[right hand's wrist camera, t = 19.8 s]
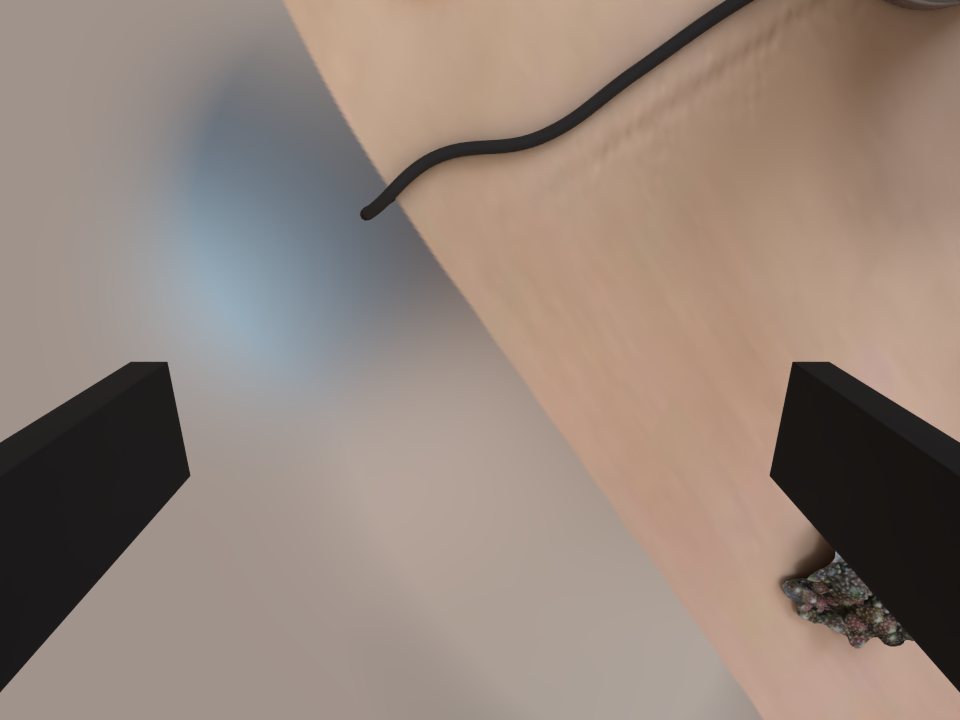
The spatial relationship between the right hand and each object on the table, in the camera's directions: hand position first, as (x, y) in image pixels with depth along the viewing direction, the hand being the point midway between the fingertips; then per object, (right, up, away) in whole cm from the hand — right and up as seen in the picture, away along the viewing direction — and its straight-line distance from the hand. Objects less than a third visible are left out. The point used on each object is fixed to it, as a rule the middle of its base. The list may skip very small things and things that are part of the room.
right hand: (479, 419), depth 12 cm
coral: (+39, -19, +46) cm, 63 cm away
